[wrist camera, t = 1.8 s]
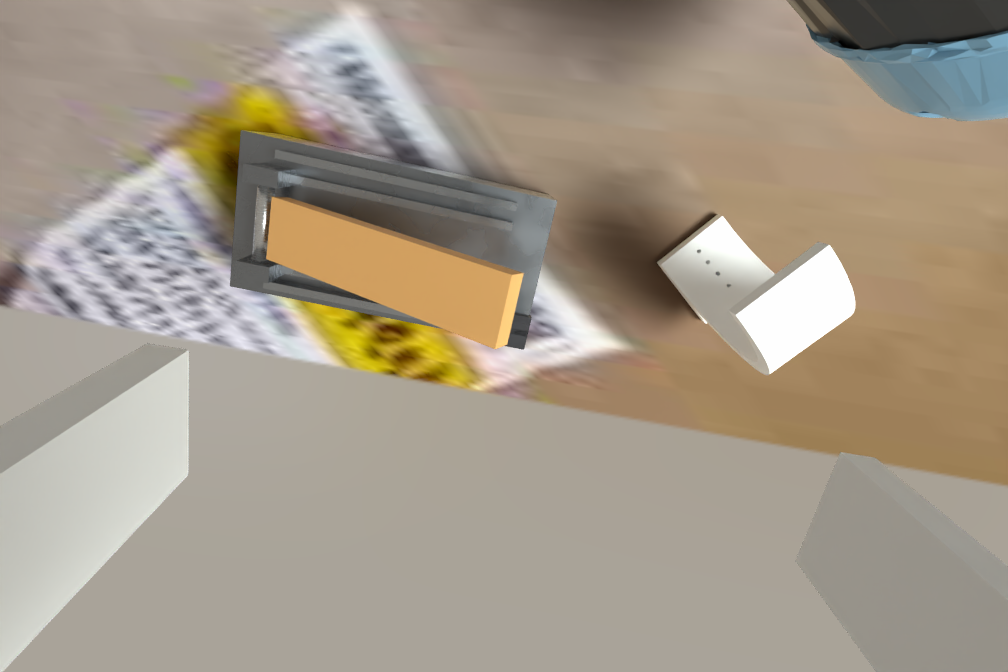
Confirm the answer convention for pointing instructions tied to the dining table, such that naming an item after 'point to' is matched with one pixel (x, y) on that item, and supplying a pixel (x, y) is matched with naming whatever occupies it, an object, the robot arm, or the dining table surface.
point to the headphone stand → (759, 294)
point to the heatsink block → (382, 217)
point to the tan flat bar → (396, 270)
